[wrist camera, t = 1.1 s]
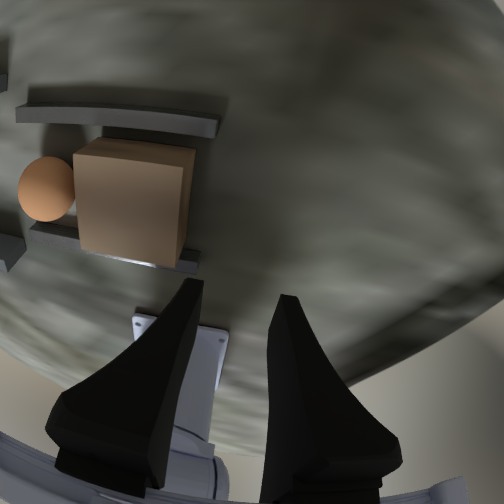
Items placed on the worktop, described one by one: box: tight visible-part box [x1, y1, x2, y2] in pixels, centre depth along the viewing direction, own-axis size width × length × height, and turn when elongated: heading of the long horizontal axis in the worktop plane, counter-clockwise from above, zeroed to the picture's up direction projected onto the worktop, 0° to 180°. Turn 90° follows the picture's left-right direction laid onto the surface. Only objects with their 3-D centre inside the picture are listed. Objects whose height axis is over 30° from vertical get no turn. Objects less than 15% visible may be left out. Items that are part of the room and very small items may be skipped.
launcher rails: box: [16, 103, 220, 275], centre depth 18 cm, size 10×13×1 cm
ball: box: [18, 157, 75, 221], centre depth 17 cm, size 4×4×4 cm
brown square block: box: [73, 137, 196, 268], centre depth 17 cm, size 6×6×3 cm
